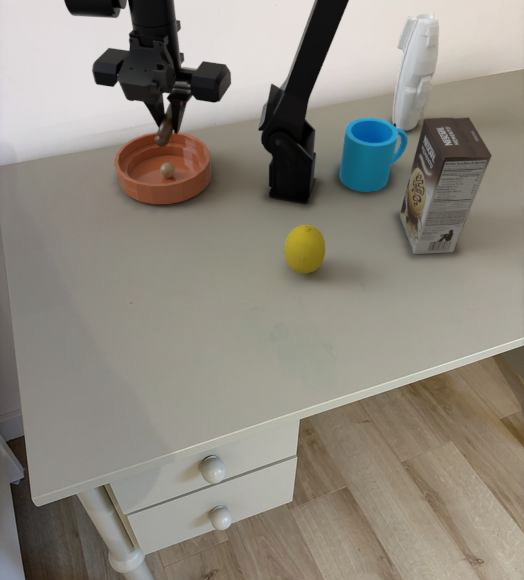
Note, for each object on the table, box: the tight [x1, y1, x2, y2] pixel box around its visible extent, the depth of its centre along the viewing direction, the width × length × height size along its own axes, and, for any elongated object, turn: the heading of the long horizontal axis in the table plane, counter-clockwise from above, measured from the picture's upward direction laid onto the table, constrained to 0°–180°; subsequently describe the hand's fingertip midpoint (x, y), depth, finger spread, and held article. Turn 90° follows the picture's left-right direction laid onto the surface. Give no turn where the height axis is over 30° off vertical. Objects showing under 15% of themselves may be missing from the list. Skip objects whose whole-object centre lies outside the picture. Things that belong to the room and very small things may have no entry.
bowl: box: [113, 131, 212, 205], centre depth 87 cm, size 15×15×4 cm
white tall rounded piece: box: [391, 11, 440, 132], centre depth 92 cm, size 7×18×7 cm
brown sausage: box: [155, 102, 174, 147], centre depth 80 cm, size 8×2×2 cm
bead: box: [160, 163, 175, 178], centre depth 87 cm, size 2×2×2 cm
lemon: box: [283, 224, 326, 275], centre depth 72 cm, size 6×6×8 cm
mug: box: [338, 117, 408, 193], centre depth 86 cm, size 12×8×8 cm
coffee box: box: [399, 117, 493, 255], centre depth 74 cm, size 9×6×16 cm
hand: (169, 131), depth 81 cm, fingers closed on brown sausage, 2 cm apart
